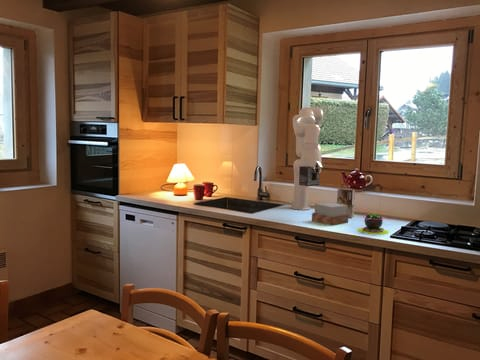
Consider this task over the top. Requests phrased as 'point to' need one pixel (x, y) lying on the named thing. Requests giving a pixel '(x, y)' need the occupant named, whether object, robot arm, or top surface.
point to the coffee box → (347, 200)
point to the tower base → (330, 219)
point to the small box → (307, 176)
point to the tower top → (330, 209)
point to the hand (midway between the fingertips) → (309, 179)
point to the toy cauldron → (373, 225)
